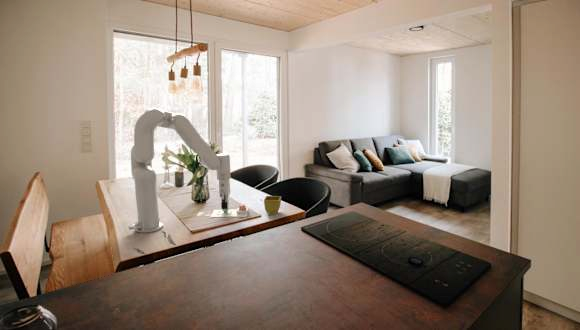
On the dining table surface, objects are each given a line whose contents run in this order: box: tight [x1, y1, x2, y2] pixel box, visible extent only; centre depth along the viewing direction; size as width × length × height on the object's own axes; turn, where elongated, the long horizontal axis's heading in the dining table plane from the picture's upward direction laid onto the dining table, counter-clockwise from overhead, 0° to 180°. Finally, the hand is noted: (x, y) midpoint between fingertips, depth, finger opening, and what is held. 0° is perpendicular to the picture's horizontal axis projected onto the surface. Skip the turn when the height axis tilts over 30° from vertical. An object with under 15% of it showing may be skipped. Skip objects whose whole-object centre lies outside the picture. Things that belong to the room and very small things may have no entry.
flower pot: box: [263, 195, 282, 215], centre depth 178 cm, size 9×9×9 cm
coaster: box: [196, 211, 212, 217], centre depth 177 cm, size 7×7×1 cm
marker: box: [221, 196, 230, 213], centre depth 177 cm, size 4×4×11 cm
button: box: [238, 204, 246, 210], centre depth 177 cm, size 3×3×3 cm
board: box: [209, 206, 249, 218], centre depth 177 cm, size 20×12×3 cm, turn 93°
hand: (225, 207), depth 178 cm, fingers closed on marker, 3 cm apart
